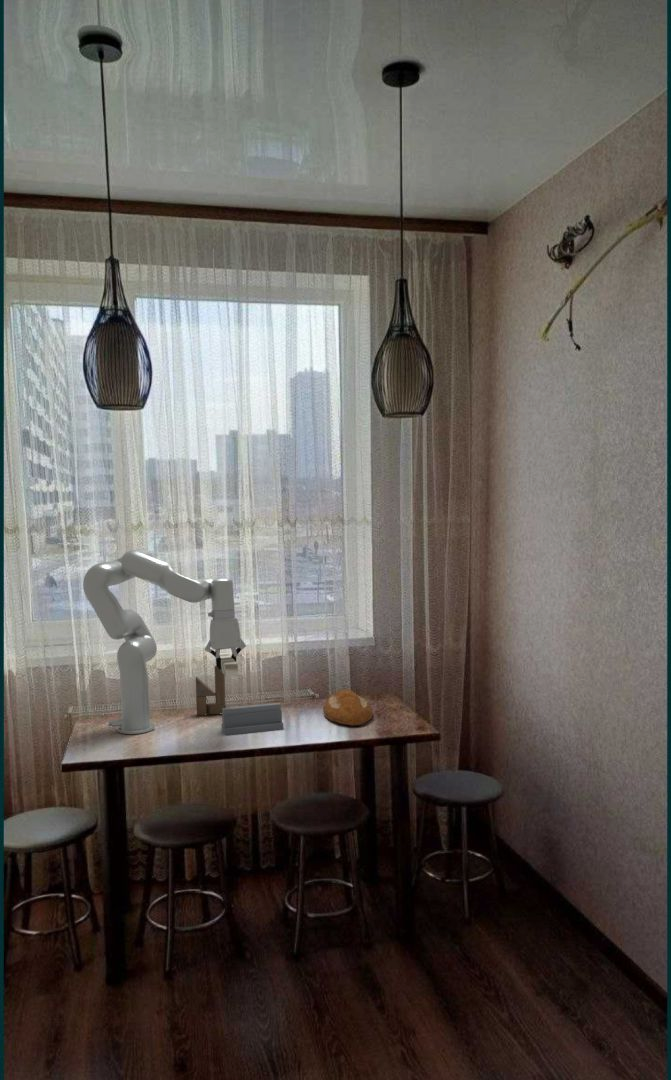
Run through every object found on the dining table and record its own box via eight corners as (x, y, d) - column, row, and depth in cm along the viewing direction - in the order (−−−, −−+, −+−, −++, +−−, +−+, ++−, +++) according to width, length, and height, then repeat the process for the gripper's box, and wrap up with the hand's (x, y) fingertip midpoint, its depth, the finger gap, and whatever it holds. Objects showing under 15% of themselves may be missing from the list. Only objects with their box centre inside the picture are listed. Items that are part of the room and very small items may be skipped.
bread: (364, 703, 326) (363, 680, 326) (379, 727, 291) (379, 701, 291) (318, 706, 324) (318, 683, 324) (329, 730, 289) (328, 704, 289)
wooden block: (196, 713, 316) (195, 665, 315) (226, 712, 317) (224, 664, 316) (196, 716, 312) (195, 667, 311) (226, 714, 313) (224, 666, 313)
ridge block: (225, 735, 285) (224, 711, 285) (221, 729, 292) (220, 706, 292) (283, 729, 291) (282, 706, 290) (278, 723, 298) (277, 701, 298)
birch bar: (238, 675, 277) (237, 663, 277) (226, 677, 276) (225, 664, 276) (227, 663, 300) (226, 652, 300) (216, 664, 299) (215, 653, 299)
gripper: (200, 618, 281) (203, 673, 282) (249, 614, 286) (253, 667, 287) (197, 615, 289) (200, 669, 289) (246, 611, 293) (249, 664, 294)
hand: (226, 667), depth 288 cm, fingers closed on birch bar, 4 cm apart
